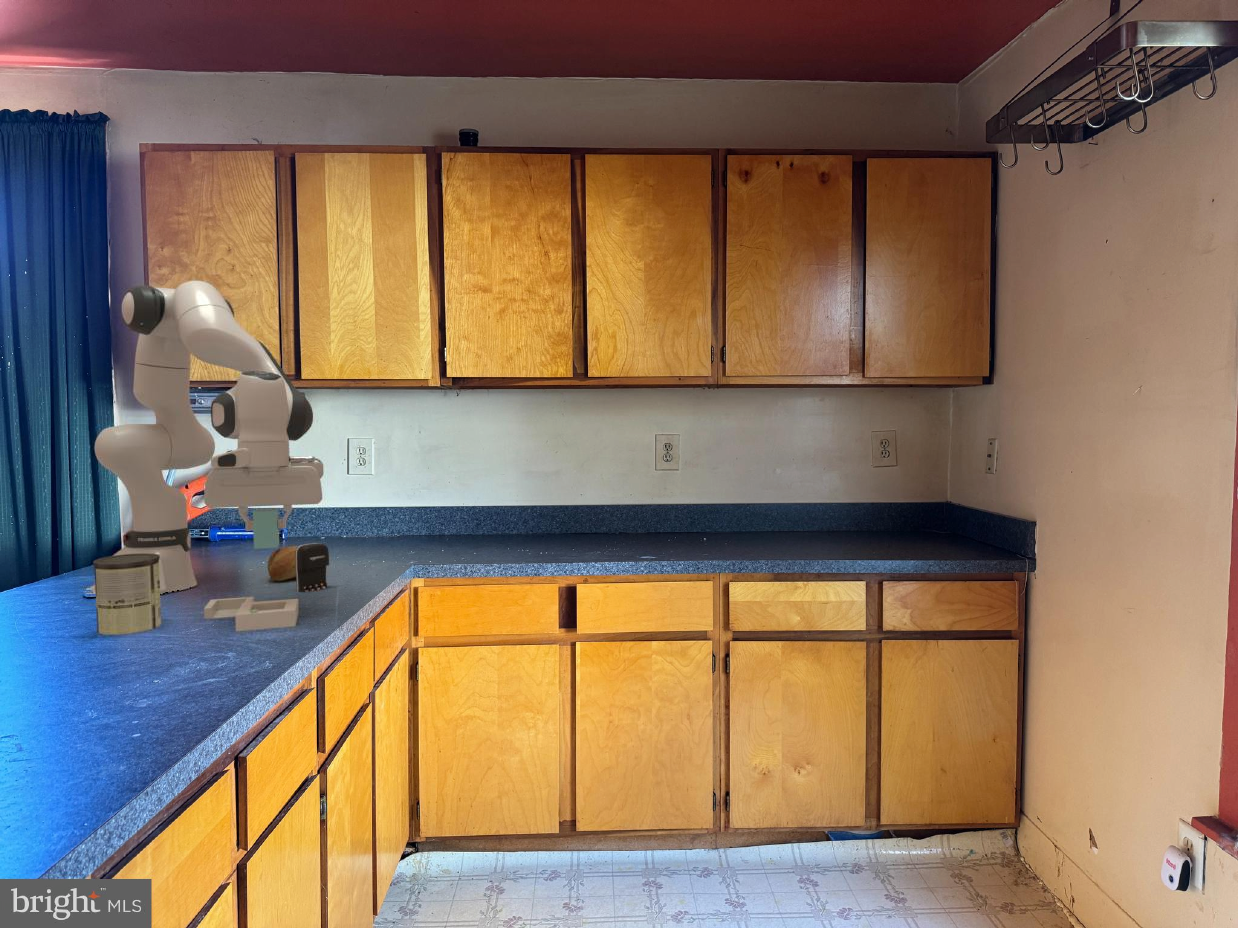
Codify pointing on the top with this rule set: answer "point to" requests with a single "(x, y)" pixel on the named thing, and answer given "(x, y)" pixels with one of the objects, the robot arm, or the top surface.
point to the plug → (265, 528)
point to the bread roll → (282, 563)
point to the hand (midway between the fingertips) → (266, 529)
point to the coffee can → (127, 593)
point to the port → (267, 615)
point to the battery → (311, 566)
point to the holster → (224, 607)
